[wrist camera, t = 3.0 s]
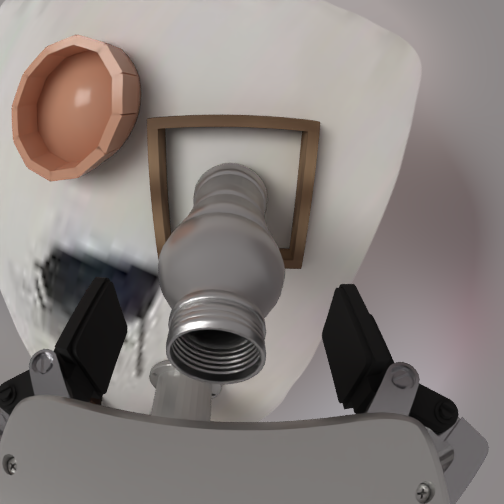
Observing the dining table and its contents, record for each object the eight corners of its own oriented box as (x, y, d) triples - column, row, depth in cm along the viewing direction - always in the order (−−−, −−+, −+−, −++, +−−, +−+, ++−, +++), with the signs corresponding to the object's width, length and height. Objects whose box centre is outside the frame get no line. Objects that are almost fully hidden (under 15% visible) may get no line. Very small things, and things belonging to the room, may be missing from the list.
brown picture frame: (297, 256, 31) (301, 268, 29) (164, 253, 30) (159, 265, 28) (313, 120, 23) (320, 121, 21) (155, 117, 22) (146, 118, 20)
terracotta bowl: (142, 162, 25) (125, 173, 21) (42, 174, 24) (19, 186, 20) (144, 31, 18) (127, 19, 14) (37, 63, 17) (13, 63, 13)
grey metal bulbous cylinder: (250, 228, 29) (264, 409, 12) (189, 206, 27) (122, 376, 10) (275, 173, 26) (343, 322, 9) (210, 148, 24) (137, 260, 7)
